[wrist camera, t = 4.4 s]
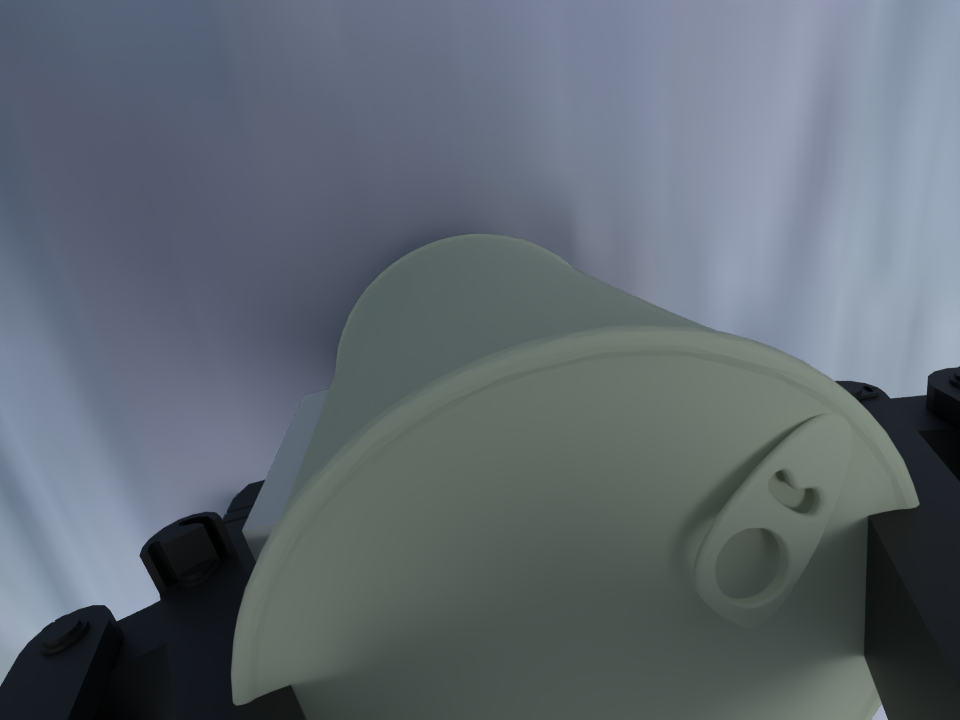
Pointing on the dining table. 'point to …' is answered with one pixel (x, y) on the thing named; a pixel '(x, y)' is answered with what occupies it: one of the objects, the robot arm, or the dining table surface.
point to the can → (566, 512)
